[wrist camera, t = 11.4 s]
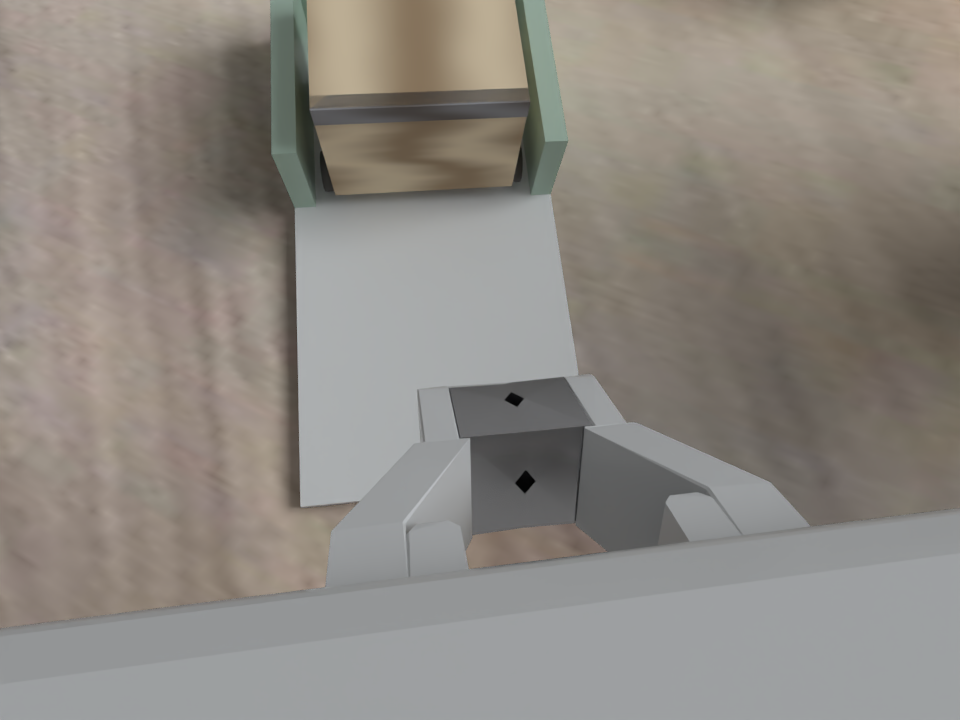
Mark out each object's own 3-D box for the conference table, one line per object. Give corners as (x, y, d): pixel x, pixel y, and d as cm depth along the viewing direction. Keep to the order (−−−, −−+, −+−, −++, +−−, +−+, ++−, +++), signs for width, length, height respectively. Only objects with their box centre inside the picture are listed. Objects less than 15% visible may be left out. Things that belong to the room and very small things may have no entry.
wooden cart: (502, 70, 37) (519, -49, 30) (520, 196, 35) (543, 101, 27) (323, 76, 36) (292, -46, 29) (327, 207, 34) (296, 111, 26)
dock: (521, 31, 40) (535, -53, 34) (589, 478, 32) (623, 466, 26) (294, 37, 39) (270, -50, 33) (304, 507, 30) (273, 501, 25)
